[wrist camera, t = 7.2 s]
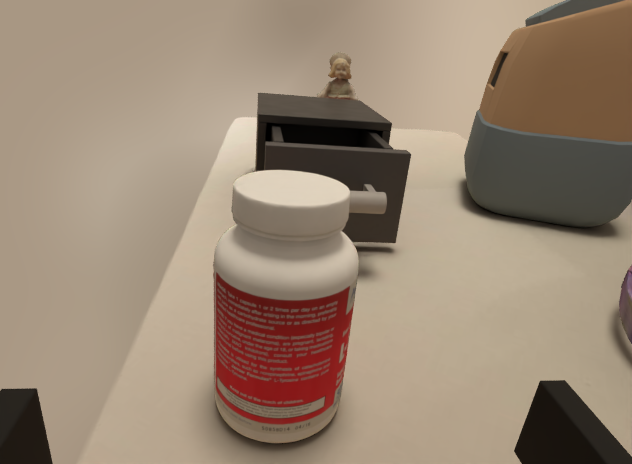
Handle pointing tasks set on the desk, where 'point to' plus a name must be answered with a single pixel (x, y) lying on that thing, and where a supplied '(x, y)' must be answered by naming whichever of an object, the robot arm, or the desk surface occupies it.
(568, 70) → the tan rounded box
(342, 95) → the figurine
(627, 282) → the headphones
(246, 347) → the pill bottle
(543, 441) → the robot arm
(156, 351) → the desk surface
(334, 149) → the drawer
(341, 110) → the small cabinet
